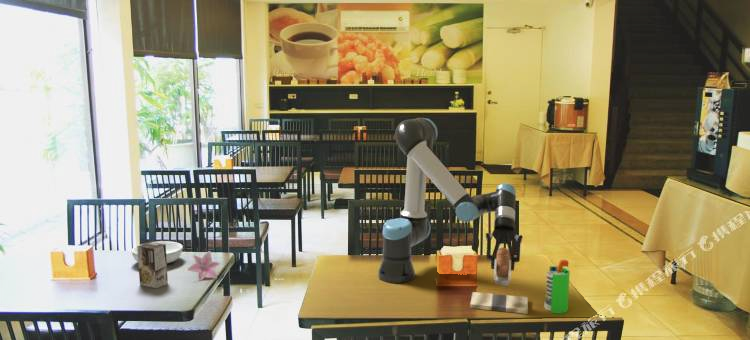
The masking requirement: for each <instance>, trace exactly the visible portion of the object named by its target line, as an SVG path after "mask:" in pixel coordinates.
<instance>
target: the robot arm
mask: <svg viewBox="0 0 750 340" xmlns="http://www.w3.org/2000/svg"><path fill="white" fill-rule="evenodd" d="M394 131H395V133H394V137H395V139H394V140H395V141H396V144H397V145H398V148H399V149H400V150H401V151H402V152H403V154H404V155H405V156H406V158H407V160H406V173H405V174H406V176H405V190H404V192H405V193H404V204H403V205H404V208H403V209H402V210H401V211H400V212H399V214H400V215H399V217H397V218H391V219H388V220H386V221H385V222H384V224H383V227H382V260H381V262H380V265H379V268H378V271H377V272H378V273H377V276H378V279H380V280H381V281H384V282H387V283H393V284H394V283H397V284H399V283H400V284H401V283H408V282H411V281H413V280H414V279H415V277H416V271H415V268H414V265H413V262H412V261H413V260H412V247H414V246H416V245H417V244H420V243H422V242H424V241H425V240H426V239H427V238H428V237H429V235H430V234H431V230H432V229H431V223H430V221H429V219H428V213H427V212H426V211H425V204H426V191H427V178H429V179H430V181H431V182H432V184H434V185H435V187H436V188H437V189H438V190H439V191H440V193H441V194H442V195H443V196H444V197H445V198H446V200H447V201H448V202H449V203H450V204H451V206H452V207H453V208H454V209H455V215H456V218H457V219H458V220H459V221H461V222H463V223H469V222H472V221H474V220H476V219H477V218H479V217H481V216H483V215H484V214H489V213H493V212H494V224H493V225H494V226H493V231H492V232H491V233H489V232H487V233H485V239H486V260H488V261H490V262H491V263H490V268H491V270H493V279H494V280H495V279H496V268H497V251H498V250H499V249H500V246H501V245H503V244H505V245H507V249H508V251H509V275H508V280H510V281H511V279H512V278H511V276H512V275H511V274H512V273H511V272H514V271H515V264H516V263H520V260H521V259H520V258H521V244H522V242H523V235H521V234H520V235H518V234H516V232H515V230H516V229H515V227H516V226H515V225H516V222H515V221H516V200H517V195H516V193H517V192H516V188H515V186H514V185H513V184H510V183H500V184H499V185H497V186H496V189H495V191H492V192H489V193H483V194H478V195H476V194H475V195H472V196H471V195H470V194H469V193H468V191H467V190H466V189H465V188H464V187H463V186H462V185H461V183H460V182H459V181H458V180H457V179H456V177H455V176H453V174H452V173H451V172H450V171H449V170H448V169H447V168H446V166H445V165H444V164H443V163H442V161H441V160H440V159H439V158H438V156H436V155H435V154H434V152H433V144H434V143H435V142H436V140H437V138H438V134H439V133H438V127H437V126H436V124H435V123H434V122H433V121H432V120H431V119H429V118H424V117H417V118H413V119H412V118H411V119H405V120H403V121H401V122H400V123H399V124H398V125H397V127H396V128H395V130H394ZM493 238H494V239H495V245H494V248H493V251H492V254H491V243H492V242H491V240H492V239H493ZM514 239H515V241H516V255H515V254H514V250H513V245H512V241H513V240H514Z"/></svg>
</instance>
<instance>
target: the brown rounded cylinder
mask: <svg viewBox="0 0 750 340" xmlns="http://www.w3.org/2000/svg"><path fill="white" fill-rule="evenodd" d="M496 259H497V268H496V279H494V284H495V285H497V286H509V285H510V281H511V280H508V275H509V260H510V255H509V250H508V248H506V247H499V249H498V251H497V256H496Z"/></svg>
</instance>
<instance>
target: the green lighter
mask: <svg viewBox="0 0 750 340" xmlns="http://www.w3.org/2000/svg"><path fill="white" fill-rule="evenodd" d="M565 267H568V268H569V260H567V259H561V260H560V261H559V263H558V264H557V266H552V265H551V266H549V270H548V271H547V272H546V283H545V284H546V285H545V288H546V289H545V297H546V298H547V299H545V300H544V308H545V310H547V311H550V313H551V314H563V313H566V312H567V311H569V295H570V294H569V291H570V270H569V269H568V268H565Z"/></svg>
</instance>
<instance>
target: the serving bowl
mask: <svg viewBox="0 0 750 340" xmlns="http://www.w3.org/2000/svg"><path fill="white" fill-rule="evenodd" d="M151 242H152V243H159V244H165V245H166V260H167V264H170V263H172V262H175V261H177V259H179V258H180V257H181V255H182V252H183V249H184V248H183V247H184V246H183V245H182V244H181V243H179V242H177V241H176V242H175V241H171V240H170V241H169V240H168V241H167V240H166V241H165V240H160V241H151ZM142 244H143V243H142ZM142 244H138V245H136V246H134V247H133V248H132V249H131V255H132V257H133V259H134V260H135V261H136V262H137V263H138V252H137V246H139V245H142Z"/></svg>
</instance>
